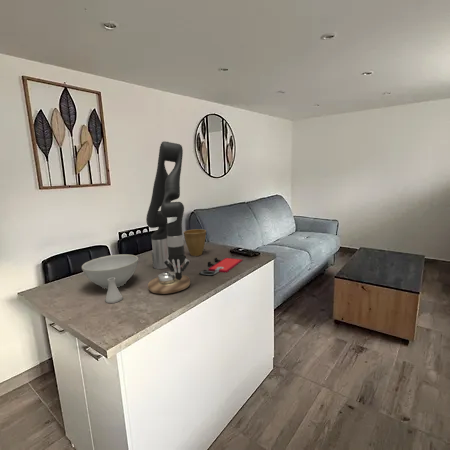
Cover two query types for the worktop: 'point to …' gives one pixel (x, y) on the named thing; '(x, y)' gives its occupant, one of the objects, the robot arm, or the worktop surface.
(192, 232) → the plant pot
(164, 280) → the cover
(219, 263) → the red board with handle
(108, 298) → the flask
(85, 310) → the worktop surface
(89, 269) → the decorative bowl
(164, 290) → the turntable
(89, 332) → the worktop surface
